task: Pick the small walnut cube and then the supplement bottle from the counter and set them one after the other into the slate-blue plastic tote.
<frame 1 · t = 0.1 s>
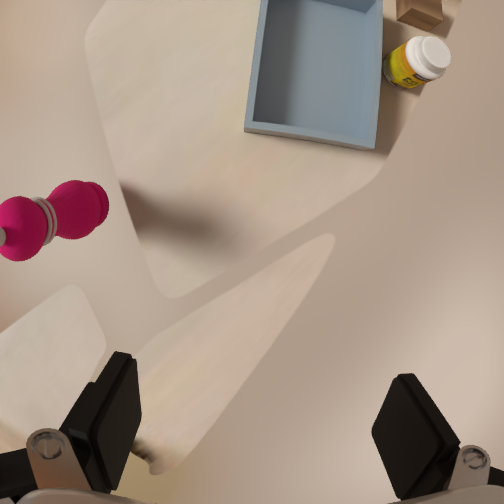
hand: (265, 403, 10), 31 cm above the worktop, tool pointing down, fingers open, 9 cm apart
pepper mill: (90, 204, 39), on the worktop
supplement bottle: (398, 71, 35), on the worktop
walnut cube: (411, 12, 32), on the worktop
tote: (312, 63, 35), on the worktop
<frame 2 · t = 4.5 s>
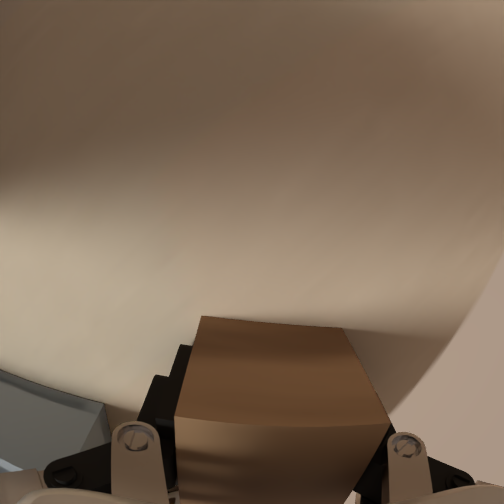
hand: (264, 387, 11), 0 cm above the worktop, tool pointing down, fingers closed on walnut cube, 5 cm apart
walnut cube: (263, 379, 12), on the worktop, touching gripper
tote: (38, 476, 14), on the worktop
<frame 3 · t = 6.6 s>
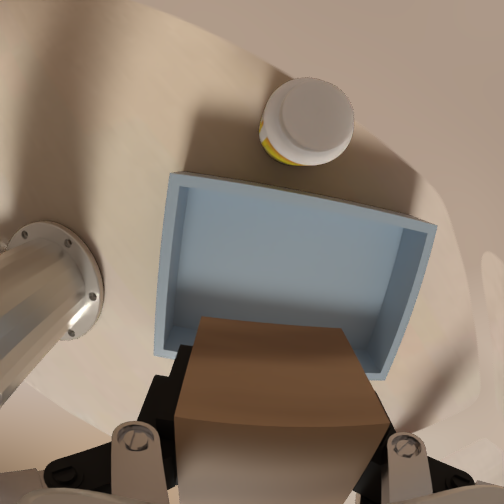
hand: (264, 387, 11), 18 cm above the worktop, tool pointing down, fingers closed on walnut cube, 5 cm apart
supplement bottle: (291, 132, 26), on the worktop
walnut cube: (263, 379, 12), point 17 cm above the worktop, touching gripper
tote: (288, 273, 29), on the worktop
when the fingers open (4 cm above the worktop, at t = 9.2 s): walnut cube drops 2 cm, resting on tote.
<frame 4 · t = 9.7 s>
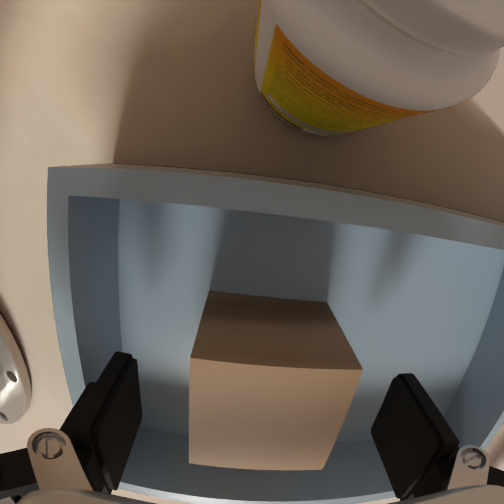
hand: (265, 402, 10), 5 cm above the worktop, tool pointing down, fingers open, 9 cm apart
supplement bottle: (318, 75, 12), on the worktop
walnut cube: (261, 347, 14), point 1 cm above the worktop, touching tote
tote: (322, 342, 15), on the worktop
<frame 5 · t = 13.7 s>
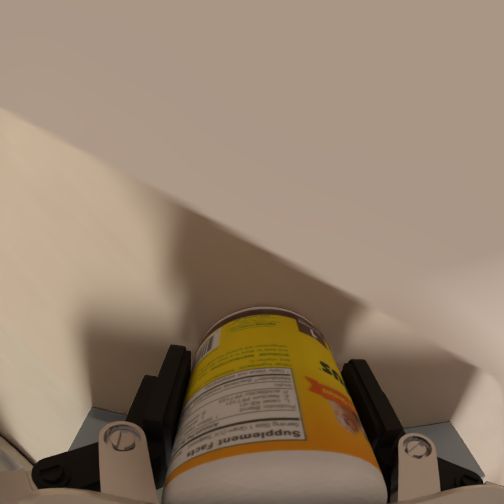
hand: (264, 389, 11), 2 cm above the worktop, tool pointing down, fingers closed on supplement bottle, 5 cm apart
supplement bottle: (262, 356, 13), on the worktop, touching gripper
tote: (267, 501, 16), on the worktop
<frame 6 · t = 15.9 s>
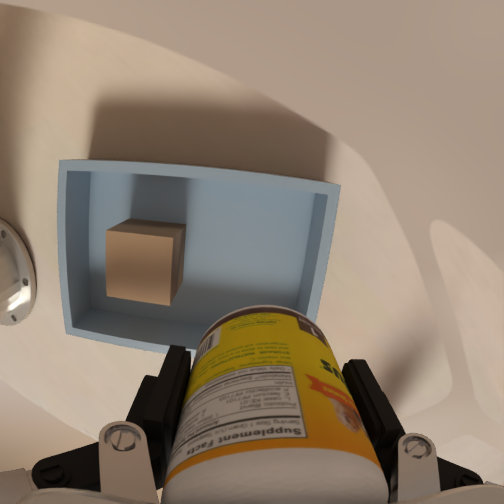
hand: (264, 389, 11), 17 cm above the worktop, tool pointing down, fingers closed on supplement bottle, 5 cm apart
supplement bottle: (262, 355, 13), point 15 cm above the worktop, touching gripper
walnut cube: (155, 250, 27), point 1 cm above the worktop, touching tote
tote: (191, 251, 28), on the worktop
when the fingers open (5 cm above the worktop, at t = 18.1 s): supplement bottle drops 2 cm, resting on tote.
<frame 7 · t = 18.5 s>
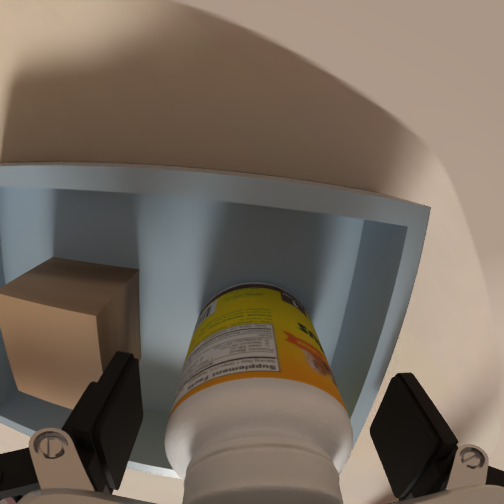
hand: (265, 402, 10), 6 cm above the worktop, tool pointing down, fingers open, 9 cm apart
supplement bottle: (253, 328, 16), point 1 cm above the worktop, touching tote
walnut cube: (95, 308, 15), point 1 cm above the worktop, touching tote
tote: (153, 310, 16), on the worktop
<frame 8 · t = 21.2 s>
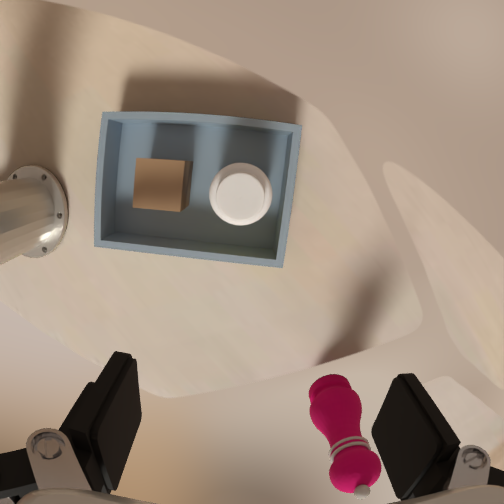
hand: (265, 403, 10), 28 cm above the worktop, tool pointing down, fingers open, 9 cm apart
pepper mill: (328, 389, 44), on the worktop
supplement bottle: (241, 188, 36), point 1 cm above the worktop, touching tote
walnut cube: (169, 181, 35), point 1 cm above the worktop, touching tote
tote: (196, 183, 36), on the worktop
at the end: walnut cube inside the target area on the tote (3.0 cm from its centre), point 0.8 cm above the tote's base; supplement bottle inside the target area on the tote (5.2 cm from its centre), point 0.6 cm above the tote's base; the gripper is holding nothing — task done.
